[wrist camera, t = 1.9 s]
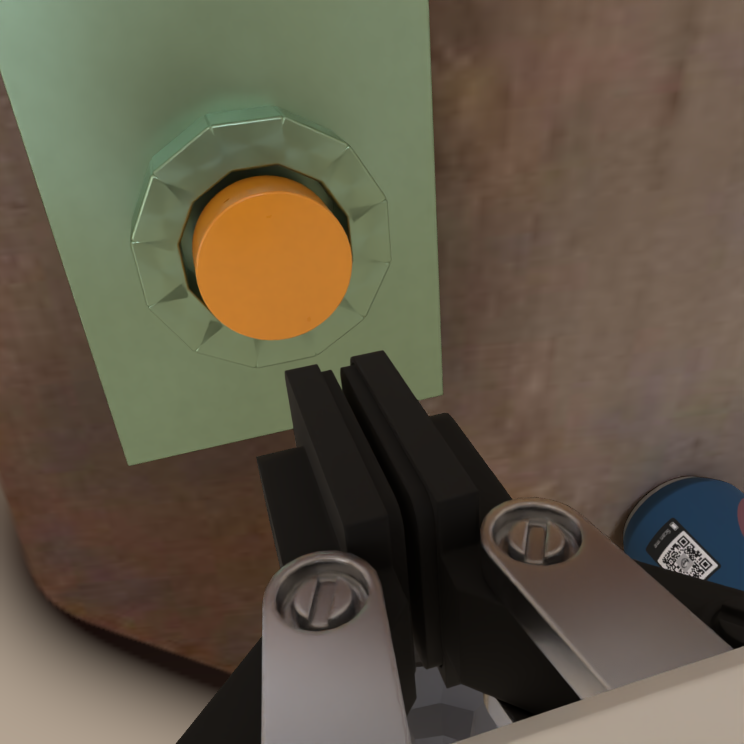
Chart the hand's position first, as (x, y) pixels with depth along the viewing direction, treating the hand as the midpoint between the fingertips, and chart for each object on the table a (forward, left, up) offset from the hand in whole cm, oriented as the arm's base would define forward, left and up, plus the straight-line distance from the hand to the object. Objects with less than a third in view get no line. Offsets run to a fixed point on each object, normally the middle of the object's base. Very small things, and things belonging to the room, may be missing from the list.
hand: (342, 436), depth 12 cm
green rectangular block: (0, 0, -14) cm, 14 cm away
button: (0, 0, -9) cm, 9 cm away
